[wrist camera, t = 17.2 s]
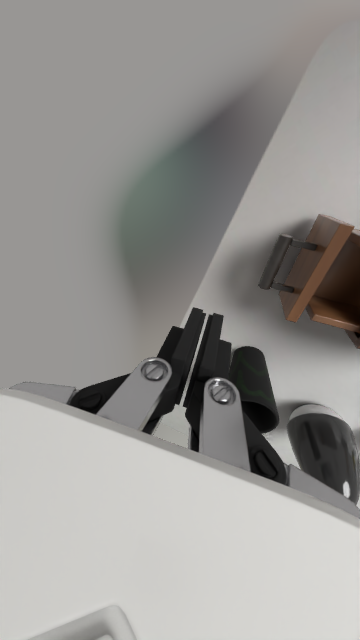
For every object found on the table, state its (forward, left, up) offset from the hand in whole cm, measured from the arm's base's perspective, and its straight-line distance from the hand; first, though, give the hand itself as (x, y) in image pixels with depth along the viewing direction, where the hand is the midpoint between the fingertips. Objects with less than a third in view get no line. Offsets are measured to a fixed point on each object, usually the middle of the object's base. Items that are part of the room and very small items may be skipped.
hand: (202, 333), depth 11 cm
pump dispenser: (+28, +25, -21) cm, 43 cm away
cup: (+19, +9, -21) cm, 30 cm away
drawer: (0, +13, -20) cm, 24 cm away
